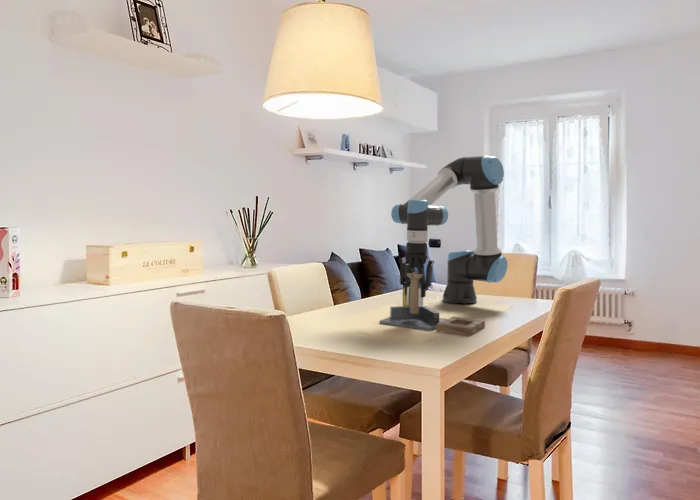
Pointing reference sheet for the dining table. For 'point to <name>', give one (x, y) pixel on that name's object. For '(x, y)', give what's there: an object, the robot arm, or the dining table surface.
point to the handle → (414, 291)
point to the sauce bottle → (404, 289)
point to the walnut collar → (461, 325)
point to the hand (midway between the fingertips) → (414, 305)
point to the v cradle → (413, 318)
